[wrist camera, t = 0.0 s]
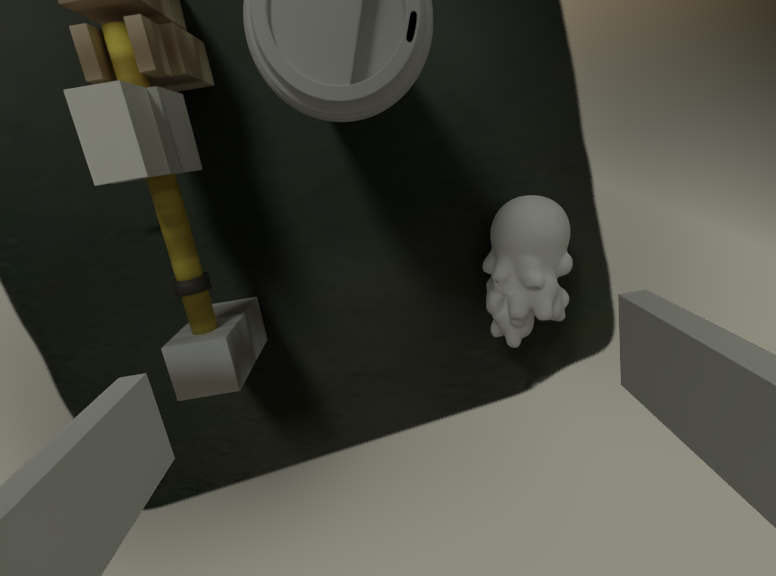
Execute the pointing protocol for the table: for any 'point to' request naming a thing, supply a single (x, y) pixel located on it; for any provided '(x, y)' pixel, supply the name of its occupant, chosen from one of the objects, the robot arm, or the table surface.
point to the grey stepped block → (132, 131)
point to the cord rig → (173, 186)
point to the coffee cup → (339, 52)
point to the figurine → (527, 266)
